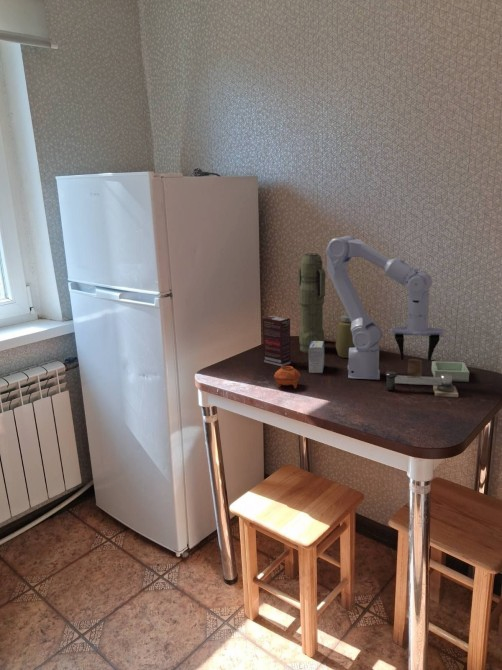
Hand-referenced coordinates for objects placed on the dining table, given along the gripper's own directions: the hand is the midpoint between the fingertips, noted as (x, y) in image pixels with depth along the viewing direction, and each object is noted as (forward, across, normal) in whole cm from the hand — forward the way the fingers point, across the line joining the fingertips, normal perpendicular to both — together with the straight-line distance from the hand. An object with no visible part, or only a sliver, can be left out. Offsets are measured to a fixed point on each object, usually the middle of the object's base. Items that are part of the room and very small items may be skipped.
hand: (415, 359), depth 158 cm
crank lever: (+7, 0, -7) cm, 10 cm away
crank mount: (+7, +3, -2) cm, 8 cm away
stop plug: (+8, 0, 0) cm, 8 cm away
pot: (+8, -37, -8) cm, 39 cm away
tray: (+8, +11, +8) cm, 15 cm away
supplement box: (+8, -44, +14) cm, 47 cm away
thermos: (+8, -34, +31) cm, 47 cm away
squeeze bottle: (+8, -21, +25) cm, 34 cm away
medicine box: (+8, -30, +9) cm, 32 cm away
